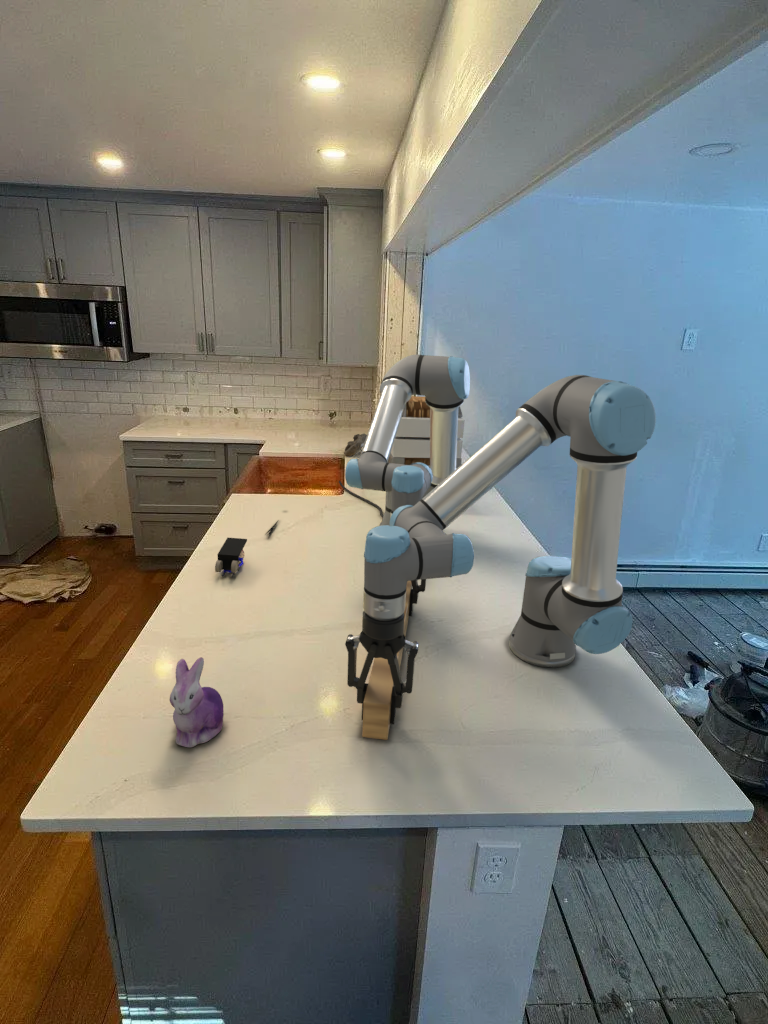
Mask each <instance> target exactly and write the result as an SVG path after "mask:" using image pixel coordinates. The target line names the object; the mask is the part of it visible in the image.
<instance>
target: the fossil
mask: <svg viewBox="0 0 768 1024" xmlns="http://www.w3.org/2000/svg"><path fill="white" fill-rule="evenodd" d="M366 437H367V434H366V433H365V432H364V433H361V434H360V433H357V434H354V435H353V437H352V439H353V440H350V441H349V440H348V442H347V445H346V446H345V448H344V453H343V454H344V456H345V457H351V456H353V455H356V454H357V453H358V452H359V451H360V452H362V449H363V446H364V443H365V440H366Z"/></svg>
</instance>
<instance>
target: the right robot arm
mask: <svg viewBox="0 0 768 1024" xmlns="http://www.w3.org/2000/svg"><path fill="white" fill-rule="evenodd" d="M656 423H657V414H656V408H655V404H654V403H653V401H652V399H651V397H650V396H649V395H648V394H647V393H646V392H645V391H644V390H643V389H642V388H640V387H638V386H635V385H633V384H632V385H631V384H630V383H627V382H624V381H621V380H612V379H606V378H599V377H593V376H590V375H587V374H586V375H585V374H573V375H569V376H565V377H563V378H560V379H558V380H556V381H553V382H552V383H550V384H549V385H547V386H545V387H543V388H542V389H541V390H539V391H538V392H536V394H534V395H533V396H531V397H530V398H529V399H528V400H526V401H525V402H524V403H523V404H522V405H520V406H519V407H518V408H517V409H516V410H515V417H514V418H513V419H512V420H511V421H510V422H509V423H507V424H506V426H504V427H503V428H502V429H501V430H499V432H497V433H496V434H494V436H493V437H491V438H490V439H489V440H488V441H487V442H486V443H485V444H483V445H482V446H481V447H480V448H479V449H477V451H476V452H474V453H473V454H472V455H470V457H469V458H467V459H466V460H465V461H464V462H463V463H461V466H459V467H458V468H457V469H456V470H455V471H454V472H453V473H451V474H450V475H449V476H448V477H447V478H446V479H444V480H443V481H442V482H441V483H440V484H439V485H438V486H436V487H435V488H434V489H433V490H432V491H431V492H429V493H428V494H427V495H426V496H425V497H424V498H423V499H421V500H420V501H419V502H418V503H417V504H415V505H414V506H412V505H405V506H402V507H399V508H397V509H396V510H395V511H394V512H393V514H392V516H391V518H390V526H389V525H383V526H380V525H378V526H375V527H373V528H371V529H369V531H368V532H367V534H366V535H365V536H366V538H365V544H364V553H363V558H364V559H363V560H364V561H363V563H364V564H363V565H364V567H363V569H364V570H363V571H364V572H363V580H364V581H363V596H362V598H363V599H362V610H363V611H362V621H361V622H362V625H361V631H360V634H358V635H354V634H348V635H347V638H346V640H345V643H344V645H345V649H346V650H347V679H346V680H347V683H346V684H347V686H348V687H350V688H353V687H354V688H355V689H356V703H357V704H361V721H363V702H364V698H365V694H366V690H367V686H368V682H366V681H367V678H368V676H369V673H370V670H371V668H372V665H373V662H374V658H384V659H387V660H388V664H389V666H390V670H391V675H392V679H393V684H394V687H393V690H392V697H391V714H390V725H395V719H396V712H397V711H396V710H397V709H401V707H402V706H403V705H402V704H403V695H404V694H409V695H410V694H412V692H413V685H414V674H415V659H416V657H417V655H418V653H419V647H420V642H419V641H417V640H414V641H413V642H412V641H410V640H407V638H406V636H404V616H405V614H404V611H405V602H406V585H407V581H412V580H417V581H418V580H419V581H421V579H426V580H431V579H432V580H433V579H441V578H453V577H457V576H463V575H467V574H469V572H471V571H472V568H473V566H474V564H475V563H474V561H475V551H474V546H473V543H472V541H471V539H470V538H469V536H468V535H466V534H464V533H454V532H452V533H449V534H448V533H445V532H444V531H445V529H446V528H447V527H448V526H450V525H451V524H452V523H454V522H455V521H456V520H457V519H458V518H459V517H460V516H461V515H463V514H464V513H465V512H466V511H467V510H468V509H470V508H471V507H472V506H473V505H474V504H476V503H477V502H478V501H479V500H480V499H481V498H482V497H484V496H485V495H486V494H487V493H488V492H489V491H491V490H492V489H493V488H494V487H496V485H498V484H499V483H500V482H501V481H502V480H503V479H505V477H507V476H508V475H509V474H510V473H512V472H513V471H514V470H515V469H516V468H517V467H519V466H520V465H521V464H522V463H523V462H524V461H525V460H527V459H528V458H529V457H530V456H531V455H532V454H534V453H535V452H536V451H537V450H539V448H541V447H549V446H550V445H552V444H553V443H554V442H555V441H556V440H558V439H560V438H562V437H563V438H564V437H570V441H569V457H570V458H571V460H573V461H574V462H575V463H576V465H577V467H576V482H575V495H574V496H575V497H574V513H573V528H572V540H571V541H572V544H571V556H570V557H571V558H569V557H564V556H558V555H543V556H537V557H534V558H532V559H531V560H530V561H529V562H528V565H527V568H526V572H525V583H524V587H523V596H522V604H521V609H520V610H521V611H520V615H519V617H518V619H517V621H516V623H515V625H514V627H513V628H512V630H511V631H510V635H509V639H508V646H509V649H510V651H511V652H512V654H514V655H515V656H516V657H517V658H519V659H520V660H522V661H524V662H526V663H529V664H530V665H533V666H538V667H543V668H562V667H565V666H567V665H569V664H571V663H572V662H573V661H574V660H575V658H576V653H577V647H579V648H581V649H582V650H583V651H584V652H586V653H589V654H591V655H603V654H607V653H608V652H610V651H613V650H614V649H616V648H617V647H619V646H620V645H621V644H622V643H623V642H624V641H625V640H626V638H628V636H629V634H630V633H631V630H632V628H633V621H634V619H633V616H632V614H631V612H630V611H629V609H628V608H626V607H625V606H623V605H622V604H623V603H622V602H623V594H624V593H623V592H624V587H623V584H622V583H621V582H620V581H619V580H618V579H617V571H618V570H617V569H618V559H619V551H620V540H621V539H620V538H621V529H622V528H621V527H622V520H623V511H624V510H623V508H624V498H625V488H626V478H627V467H628V466H629V465H630V464H632V463H633V462H634V461H635V460H637V458H638V452H639V451H641V450H643V449H644V448H645V447H646V446H647V444H648V440H649V439H651V438H652V437H653V434H654V432H655V428H656ZM360 644H361V645H362V647H363V648H364V649H365V651H366V652H367V653H366V654H367V655H366V657H365V660H364V663H363V666H362V669H361V672H360V675H359V677H358V676H357V661H358V659H357V656H358V653H357V652H358V648H359V645H360ZM402 648H403V649H405V651H404V652H405V654H406V655H407V659H406V674H405V675H406V676H405V682H403V677H402V672H401V667H400V668H399V663H398V659H397V653H398V652H399V651H400V650H401V649H402Z"/></svg>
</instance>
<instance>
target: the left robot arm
mask: <svg viewBox="0 0 768 1024" xmlns="http://www.w3.org/2000/svg"><path fill="white" fill-rule="evenodd" d="M470 372H471V371H470V366H469V363H468V361H467V360H466V359H465V358H463V357H457V356H453V355H449V356H448V355H447V356H444V355H429V354H418V353H417V354H411V355H408V356H405V357H403V358H402V359H400V360H398V361H396V363H394V364H393V365H392V366H391V367H390V368H389V369H388V370H387V371H386V373H385V374H384V376H383V378H382V379H381V383H380V386H379V393H380V395H379V399H378V402H377V406H376V408H375V411H374V414H373V417H372V419H371V423H370V425H369V428H368V431H367V434H366V435H367V437H366V440H365V443H364V446H363V447H362V449H361V450H362V451H360V454H359V457H358V458H350V459H349V461H348V462H347V463H346V466H345V472H344V477H345V482H346V485H347V486H349V487H350V488H354V489H355V488H356V489H359V490H368V491H369V490H371V491H380V492H385V504H384V505H385V507H384V508H385V509H384V513H383V509H382V507H380V506H379V505H378V504H376V503H374V502H373V501H371V500H369V499H367V498H365V497H362V496H361V495H358V494H357V493H355V492H352V491H351V490H349V489H348V488H347V487H345V485H344V484H343V483H342V481H341V480H338V483H339V485H340V487H341V488H342V489H343V490H344V491H346V492H347V493H349V494H350V495H351V496H354V497H356V498H358V499H360V500H362V501H364V502H366V503H368V504H369V505H371V506H373V507H375V508H377V509H378V510H379V515H380V516H381V517H382V519H381V522H379V526H383V525H389V526H390V518H391V516H392V514H393V512H394V511H395V510H396V509H397V508H399V507H402V506H405V505H412V506H414V505H415V504H417V503H418V502H419V501H420V500H421V499H423V498H424V497H425V496H426V495H427V494H428V493H429V492H431V491H432V490H433V489H434V488H435V487H436V486H438V485H439V484H440V483H441V482H442V481H443V480H444V479H446V478H447V477H448V476H449V475H450V474H451V473H453V472H454V471H455V470H456V457H457V431H458V407H460V408H461V406H462V405H463V404H464V402H465V400H466V399H468V398H469V396H470V388H471V384H470V383H471V374H470ZM411 396H422V397H425V402H426V404H427V405H428V406H429V407H430V466H429V465H428V466H427V465H426V464H424V463H421V462H417V463H413V464H411V465H404V464H394V463H387V462H388V459H389V455H390V452H391V449H392V446H393V442H394V439H395V436H396V433H397V430H398V426H399V423H400V420H401V417H402V413H403V410H404V407H405V404H406V402H408V401H409V400H410V399H411ZM411 584H412V589H411V592H410V604H409V617H412V616H413V609H414V605H417V604H418V598H419V593H425V592H426V586H427V579H421V580H420V584H419V582H418V580H412V581H411Z"/></svg>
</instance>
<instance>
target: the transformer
mask: <svg viewBox="0 0 768 1024" xmlns="http://www.w3.org/2000/svg"><path fill="white" fill-rule="evenodd" d="M464 429H465V419H464V418H463V411H462V408H461V406H460V407H458V431H457V457H456V469H457V468H458V467H459V466H461V465H462V461H463V460H462V453H463V442H464V441H463V440H462V439H463V438H464V431H465V430H464ZM417 462H421V463H424V464H426V465H427V466H428V467H430V407H429V406H428V405H427V404H426V402H425V396H419V395H412V396H411V399H410V400H409V401H408V402H406V404H405V407H404V410H403V413H402V417H401V420H400V423H399V426H398V430H397V433H396V436H395V439H394V442H393V446H392V449H391V452H390V455H389V459H388V462H387V463H394V464H404V465H411V464H413V463H417Z"/></svg>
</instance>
